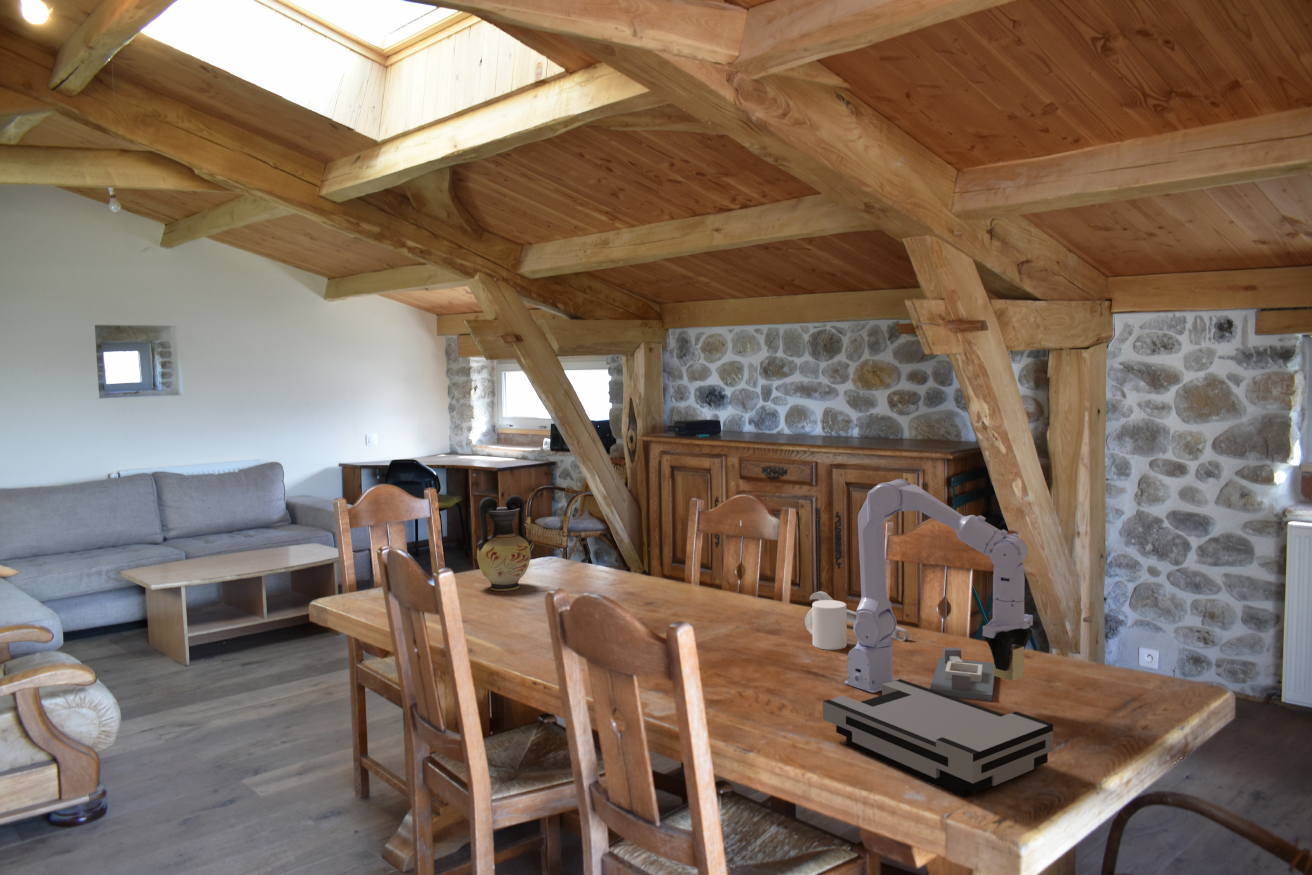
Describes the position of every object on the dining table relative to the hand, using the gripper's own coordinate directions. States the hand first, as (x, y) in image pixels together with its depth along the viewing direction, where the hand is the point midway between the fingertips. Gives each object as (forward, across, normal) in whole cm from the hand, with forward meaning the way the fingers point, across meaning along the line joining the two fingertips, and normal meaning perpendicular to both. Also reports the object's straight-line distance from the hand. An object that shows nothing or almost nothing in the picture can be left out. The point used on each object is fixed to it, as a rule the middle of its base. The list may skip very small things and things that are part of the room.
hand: (1007, 666), depth 172 cm
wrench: (+9, +22, +56) cm, 60 cm away
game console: (+9, -29, -3) cm, 31 cm away
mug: (+9, +6, +53) cm, 54 cm away
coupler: (+2, 0, 0) cm, 2 cm away
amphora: (+9, -26, +161) cm, 163 cm away
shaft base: (+8, +8, +15) cm, 19 cm away
